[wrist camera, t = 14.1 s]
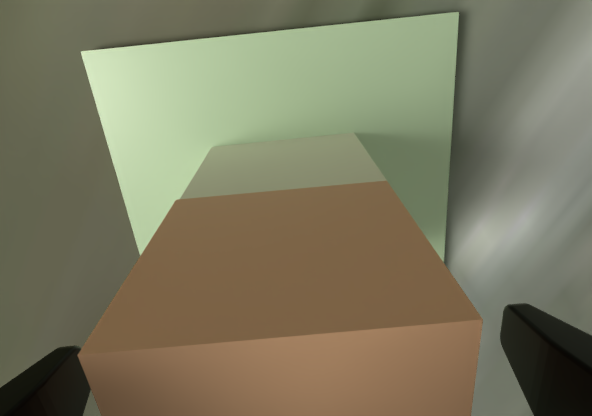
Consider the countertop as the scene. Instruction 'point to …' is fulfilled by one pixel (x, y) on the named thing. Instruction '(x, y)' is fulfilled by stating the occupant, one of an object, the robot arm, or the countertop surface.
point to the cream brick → (283, 166)
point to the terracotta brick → (287, 313)
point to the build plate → (282, 106)
